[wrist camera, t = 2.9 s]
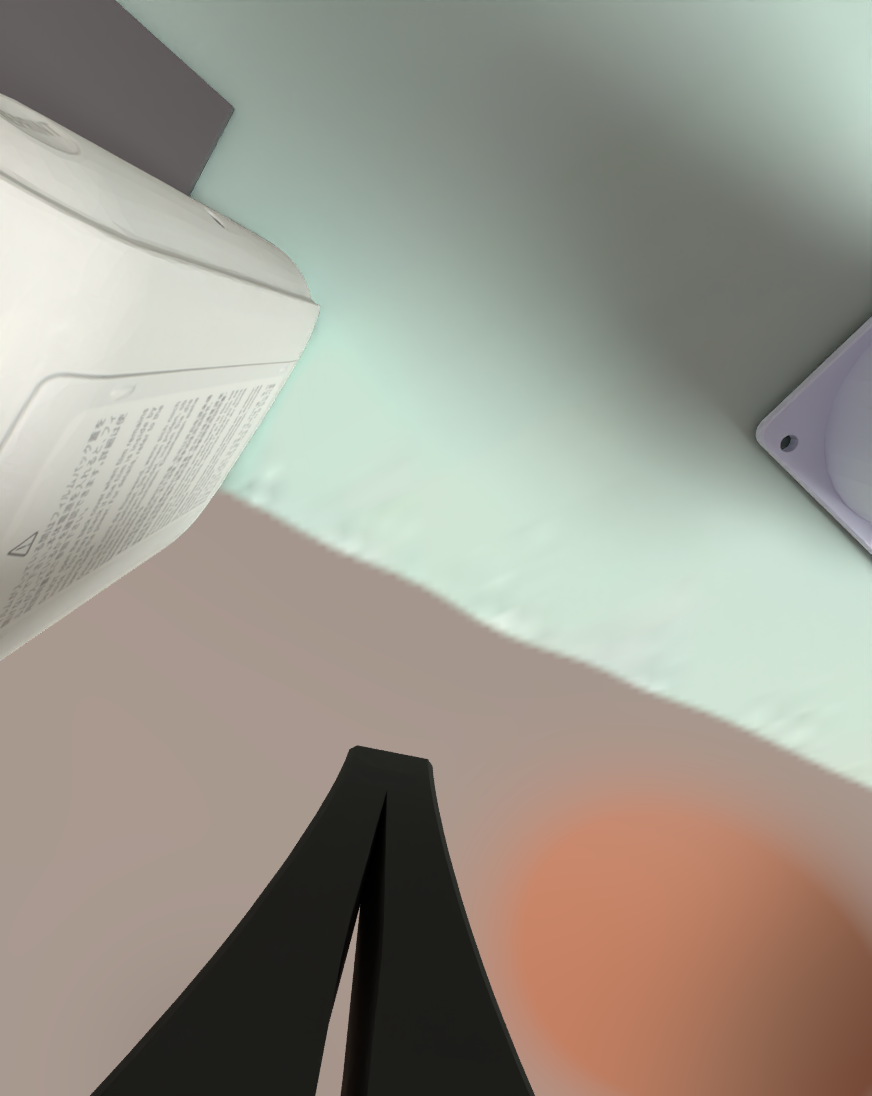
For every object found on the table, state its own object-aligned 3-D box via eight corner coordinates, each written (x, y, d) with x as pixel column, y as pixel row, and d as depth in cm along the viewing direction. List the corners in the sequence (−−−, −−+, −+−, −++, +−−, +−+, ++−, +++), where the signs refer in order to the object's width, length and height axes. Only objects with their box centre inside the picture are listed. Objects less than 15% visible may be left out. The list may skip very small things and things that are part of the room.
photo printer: (221, 195, 15) (-654, -340, 3) (347, 298, 15) (22, 173, 4) (79, 476, 18) (-605, 721, 6) (189, 548, 19) (-240, 878, 7)
